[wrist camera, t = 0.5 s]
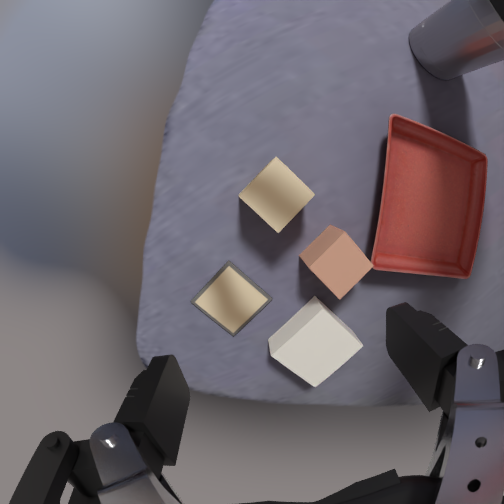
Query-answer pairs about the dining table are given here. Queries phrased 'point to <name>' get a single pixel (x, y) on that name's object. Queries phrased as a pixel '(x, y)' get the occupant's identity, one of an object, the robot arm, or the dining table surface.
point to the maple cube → (276, 194)
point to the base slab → (314, 343)
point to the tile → (231, 299)
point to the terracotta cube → (336, 260)
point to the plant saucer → (429, 202)
